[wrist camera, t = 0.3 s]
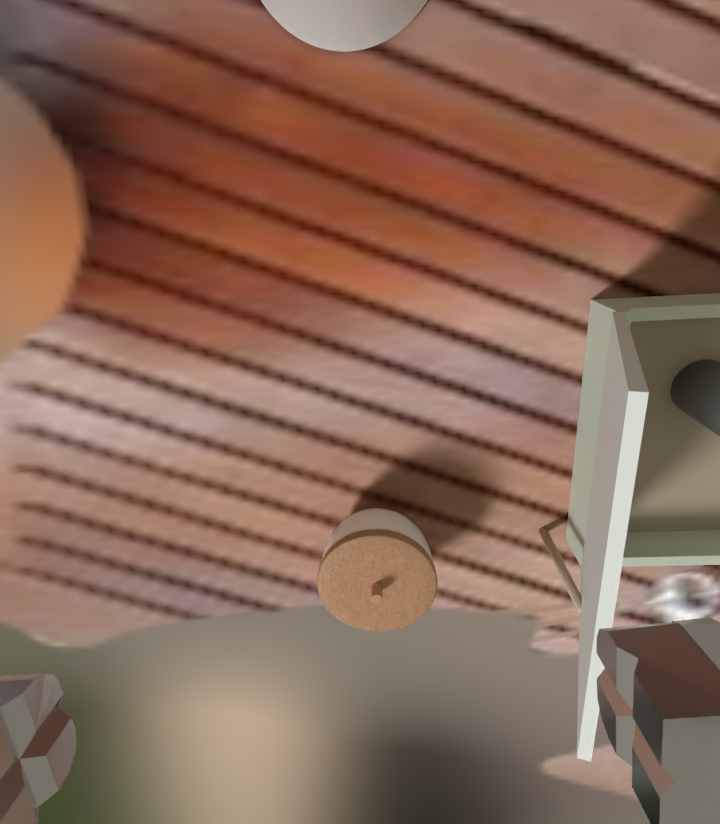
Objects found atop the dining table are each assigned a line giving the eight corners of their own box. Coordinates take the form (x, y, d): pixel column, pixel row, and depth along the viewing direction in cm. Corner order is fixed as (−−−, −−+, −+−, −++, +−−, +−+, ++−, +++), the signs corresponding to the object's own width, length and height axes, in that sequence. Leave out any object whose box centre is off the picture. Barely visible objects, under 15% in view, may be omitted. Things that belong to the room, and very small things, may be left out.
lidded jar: (434, 492, 51) (445, 551, 42) (425, 579, 55) (433, 650, 46) (326, 486, 51) (315, 543, 42) (324, 573, 55) (314, 642, 46)
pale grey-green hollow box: (511, 303, 44) (631, 393, 23) (815, 288, 42) (1242, 368, 21) (499, 540, 52) (578, 761, 32) (750, 533, 51) (1007, 762, 30)
